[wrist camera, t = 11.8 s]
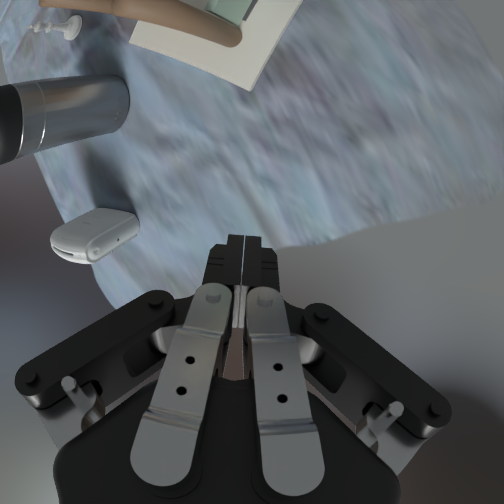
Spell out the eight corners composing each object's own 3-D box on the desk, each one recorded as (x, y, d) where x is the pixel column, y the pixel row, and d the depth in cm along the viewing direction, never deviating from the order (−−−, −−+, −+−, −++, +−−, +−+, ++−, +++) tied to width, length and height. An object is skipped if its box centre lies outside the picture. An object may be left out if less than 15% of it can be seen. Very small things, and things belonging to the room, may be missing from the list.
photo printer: (139, 211, 43) (79, 245, 32) (142, 237, 45) (86, 275, 34) (96, 204, 46) (41, 232, 35) (100, 226, 48) (47, 257, 37)
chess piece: (71, 15, 31) (26, 13, 22) (85, 15, 30) (37, 12, 22) (63, 39, 33) (18, 40, 25) (77, 41, 33) (28, 41, 24)
